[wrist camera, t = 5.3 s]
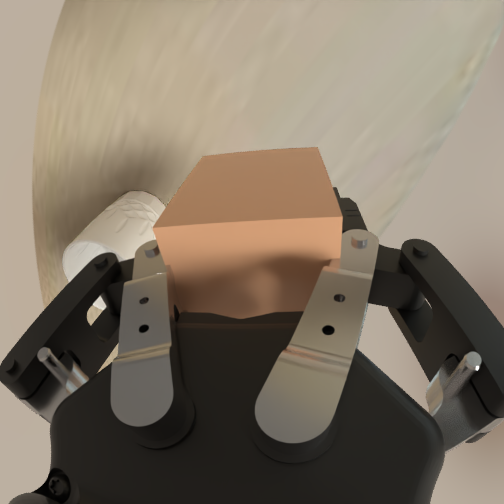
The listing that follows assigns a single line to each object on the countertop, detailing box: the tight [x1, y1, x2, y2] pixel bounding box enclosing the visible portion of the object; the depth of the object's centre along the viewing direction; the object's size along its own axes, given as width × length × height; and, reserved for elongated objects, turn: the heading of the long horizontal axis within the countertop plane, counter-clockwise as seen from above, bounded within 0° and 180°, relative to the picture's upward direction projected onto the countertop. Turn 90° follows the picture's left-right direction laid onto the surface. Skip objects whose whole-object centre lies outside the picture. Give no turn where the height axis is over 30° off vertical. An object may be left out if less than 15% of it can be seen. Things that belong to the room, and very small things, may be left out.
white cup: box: [62, 191, 166, 310], centre depth 26 cm, size 8×8×10 cm
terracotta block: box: [152, 147, 343, 319], centre depth 11 cm, size 5×5×6 cm
